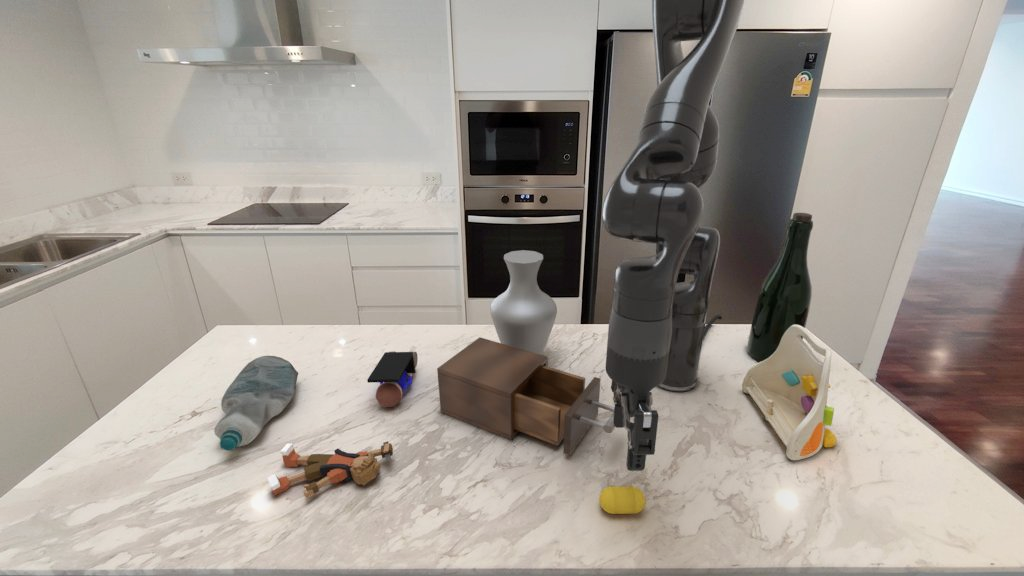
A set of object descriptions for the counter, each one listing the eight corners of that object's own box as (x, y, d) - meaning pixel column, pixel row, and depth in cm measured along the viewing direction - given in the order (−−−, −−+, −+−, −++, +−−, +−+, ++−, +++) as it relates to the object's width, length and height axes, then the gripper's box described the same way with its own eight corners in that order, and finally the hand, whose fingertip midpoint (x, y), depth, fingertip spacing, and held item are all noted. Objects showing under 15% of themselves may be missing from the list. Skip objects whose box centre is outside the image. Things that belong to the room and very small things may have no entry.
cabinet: (547, 399, 95) (548, 356, 91) (511, 440, 84) (510, 393, 80) (481, 377, 103) (479, 336, 99) (440, 412, 92) (436, 368, 88)
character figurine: (297, 430, 82) (395, 429, 79) (305, 452, 84) (401, 453, 81) (252, 482, 71) (364, 484, 68) (263, 507, 73) (372, 510, 70)
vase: (516, 339, 118) (515, 241, 109) (567, 356, 110) (571, 252, 101) (479, 364, 107) (474, 259, 98) (532, 385, 100) (533, 273, 90)
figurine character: (390, 376, 106) (369, 411, 92) (387, 344, 104) (365, 375, 90) (420, 376, 106) (403, 412, 91) (418, 344, 104) (400, 375, 89)
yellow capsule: (600, 519, 69) (602, 500, 67) (596, 499, 72) (598, 481, 70) (647, 519, 69) (649, 500, 67) (640, 499, 72) (643, 480, 70)
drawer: (628, 424, 86) (632, 387, 83) (602, 469, 76) (605, 428, 73) (529, 391, 96) (529, 357, 93) (495, 427, 86) (494, 390, 83)
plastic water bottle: (244, 381, 102) (184, 464, 79) (239, 351, 99) (176, 427, 76) (309, 381, 104) (269, 461, 81) (306, 352, 101) (264, 426, 78)
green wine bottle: (802, 353, 110) (838, 212, 97) (791, 373, 103) (828, 223, 90) (753, 339, 116) (781, 205, 104) (739, 357, 109) (767, 214, 96)
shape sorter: (852, 463, 78) (883, 370, 71) (785, 461, 79) (810, 368, 72) (793, 392, 96) (813, 312, 89) (739, 391, 97) (755, 312, 90)
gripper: (688, 372, 53) (670, 485, 59) (653, 316, 66) (642, 413, 72) (620, 373, 53) (610, 485, 59) (598, 316, 66) (592, 413, 72)
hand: (627, 445), depth 66 cm, fingers open, 8 cm apart
